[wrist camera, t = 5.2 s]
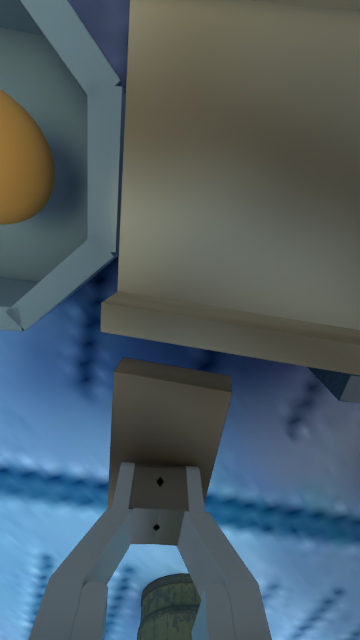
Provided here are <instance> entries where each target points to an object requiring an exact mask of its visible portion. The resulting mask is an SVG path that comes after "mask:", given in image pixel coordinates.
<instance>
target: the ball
mask: <svg viewBox="0 0 360 640" xmlns="http://www.w3.org/2000/svg"><path fill="white" fill-rule="evenodd" d="M54 183H55V166H54V160H53V156H52V153H51V150H50V147H49V145H48V142H47V140H46V138H45V136H44V134H43V133H42V131H41V129H40V128H39V126H38V125H37V123H36V122H35V121H34V119H33V118H32V117H31V116H30V114H29V113H28V112H27V111H26V110H25V109H24V108H23V107H22V106H21V105H20V104H19V103H17V102H16V101H15V100H14V99H13V98H12V97H10V96H9V95H8V94H6V93H5V92H3V91H2V90H0V225H7V224H14V223H19V222H23V221H25V220H27V219H29V218H32V217H33V216H35V215H36V214H37V213H39V212H40V211H41V210H42V209H43V208H44V206H45V205H46V204H47V202H48V201H49V199H50V197H51V195H52V192H53V188H54Z"/></svg>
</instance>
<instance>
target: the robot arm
mask: <svg viewBox="0 0 360 640" xmlns="http://www.w3.org/2000/svg"><path fill="white" fill-rule="evenodd" d="M130 544H160V545H175V546H177V548H178V550H179V552H180V554H181V556H182V559H183V561H184V563H185V565H186V567H187V569H188V572H189V574H190V576H191V578H192V580H193V583H194V585H195V587H196V589H197V591H198V593H199V596H200V598H201V603H200V606H199V609H198V613H197V616H196V619H195V622H194V625H193V629H192V640H272V639H271V634H270V630H269V626H268V622H267V618H266V614H265V610H264V606H263V602H262V598H261V594H260V589H259V585H258V583H257V581H256V580H255V578H254V577H253V575H252V574H251V573H250V571H249V570H248V568H247V567H246V565H245V564H244V562H243V561H242V560H241V558H240V557H239V555H238V554H237V552H236V551H235V549H234V548H233V547H232V545H231V544H230V542H229V541H228V539H227V538H226V536H225V535H224V534H223V532H222V531H221V529H220V528H219V526H218V525H217V523H216V522H215V521H214V519H213V518H212V516H211V515H210V513H208V512H205V508H204V500H203V492H202V484H201V476H200V469H199V467H193V466H180V465H152V464H141V463H129V462H122V463H121V466H120V471H119V476H118V481H117V486H116V491H115V496H114V501H113V506H112V508H107V510H106V511H105V512H104V513H103V514H102V516H101V517H100V518H99V519H98V520H97V522H96V523H95V524H94V525H93V526H92V528H91V529H90V530H89V531H88V532H87V534H86V535H85V536H84V537H83V538H82V540H81V541H80V542H79V543H78V545H77V546H76V547H75V548H74V549H73V551H72V552H71V553H70V554H69V555H68V557H67V558H66V559H65V560H64V561H63V563H62V564H61V565H60V566H59V567H58V569H57V570H56V571H55V572H54V573H53V575H52V576H51V577H50V579H49V581H48V584H47V587H46V590H45V593H44V596H43V599H42V602H41V605H40V608H39V611H38V614H37V617H36V620H35V622H34V625H33V628H32V631H31V634H30V637H29V640H104V637H105V629H106V612H107V595H108V587H107V583H108V582H109V580H110V578H111V577H112V575H113V573H114V572H115V570H116V568H117V567H118V565H119V563H120V562H121V560H122V558H123V557H124V555H125V553H126V551H127V550H128V548H129V546H130Z"/></svg>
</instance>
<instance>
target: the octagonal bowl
mask: <svg viewBox="0 0 360 640" xmlns="http://www.w3.org/2000/svg"><path fill="white" fill-rule="evenodd" d="M0 90H2V91H3V92H5V93H6V94H8V95H9V96H10V97H12V98H13V99H14V100H15V101H16V102H17V103H19V104H20V105H21V106H22V107H23V108H24V109H25V110H26V111H27V112H28V113H29V114H30V116H31V117H32V118H33V119H34V121H35V122H36V123H37V125H38V126H39V128H40V129H41V131H42V133H43V134H44V136H45V138H46V140H47V142H48V145H49V147H50V150H51V153H52V156H53V160H54V166H55V183H54V188H53V192H52V195H51V197H50V199H49V201H48V202H47V204H46V205H45V206H44V208H43V209H42V210H41V211H40V212H39V213H37V214H36V215H35V216H33V217H32V218H29V219H27V220H25V221H23V222H19V223H14V224H7V225H0V330H10V331H20V332H22V331H24V330H25V331H26V330H27V329H28V328H30V327H31V326H32V325H34V324H35V323H36V322H38V321H39V320H40V319H42V318H43V317H44V316H46V315H47V314H48V313H49V312H51V311H52V310H53V309H55V308H56V307H57V306H59V305H60V304H61V303H63V302H64V301H65V300H66V299H68V298H69V297H70V296H72V295H73V294H74V293H75V292H76V291H78V290H79V289H80V288H81V287H82V286H84V285H85V284H86V283H87V282H88V281H90V280H91V279H92V278H93V277H94V276H96V275H97V274H98V273H99V272H100V271H101V270H103V269H104V268H105V267H106V266H107V265H109V264H110V263H111V262H112V261H113V260H115V259H116V258H117V257H118V256H119V242H120V219H121V197H122V174H123V151H124V129H125V106H126V95H125V92H124V89H123V87H122V84H121V81H120V79H119V78H118V76H117V75H116V73H115V72H114V70H113V69H112V67H111V66H110V64H109V63H108V61H107V60H106V58H105V57H104V55H103V54H102V52H101V51H100V49H99V47H98V46H97V44H96V43H95V41H94V40H93V38H92V37H91V35H90V34H89V32H88V31H87V29H86V28H85V26H84V25H83V23H82V22H81V20H80V19H79V17H78V16H77V14H76V13H75V11H74V10H73V8H72V7H71V5H70V4H69V2H68V1H67V0H0Z"/></svg>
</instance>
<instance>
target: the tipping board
mask: <svg viewBox="0 0 360 640" xmlns="http://www.w3.org/2000/svg"><path fill="white" fill-rule="evenodd" d="M101 332H105V333H111V334H117V335H123V336H129V337H135V338H141V339H147V340H153V341H158V342H164V343H170V344H176V345H182V346H188V347H194V348H200V349H206V350H212V351H218V352H224V353H229V354H235V355H241V356H247V357H253V358H259V359H265V360H271V361H277V362H283V363H289V364H294V365H300V366H306V367H312V368H318V369H324V370H330V371H336V372H342V373H348V374H354V375H360V0H130V15H129V38H128V60H127V83H126V106H125V129H124V151H123V174H122V197H121V219H120V242H119V265H118V287H117V292H116V293H114V294H113V295H112V296H110V297H109V298H107V299H106V300H105V301H103V302H102V303H101ZM231 396H232V387H231V380H230V376H229V375H223V374H217V373H211V372H206V371H200V370H194V369H188V368H183V367H177V366H171V365H165V364H160V363H154V362H148V361H142V360H137V359H131V358H125V357H123V358H122V360H121V361H120V363H119V364H118V366H117V367H116V369H115V371H114V378H113V401H112V424H111V446H110V469H109V492H108V508H112V506H113V501H114V496H115V491H116V486H117V481H118V476H119V471H120V466H121V463H122V462H129V463H141V464H152V465H180V466H193V467H199V469H200V476H201V484H202V492H203V500H204V502H205V498H206V494H207V491H208V487H209V483H210V479H211V475H212V471H213V467H214V463H215V459H216V455H217V451H218V447H219V443H220V439H221V435H222V431H223V427H224V423H225V419H226V415H227V412H228V408H229V404H230V400H231Z"/></svg>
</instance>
